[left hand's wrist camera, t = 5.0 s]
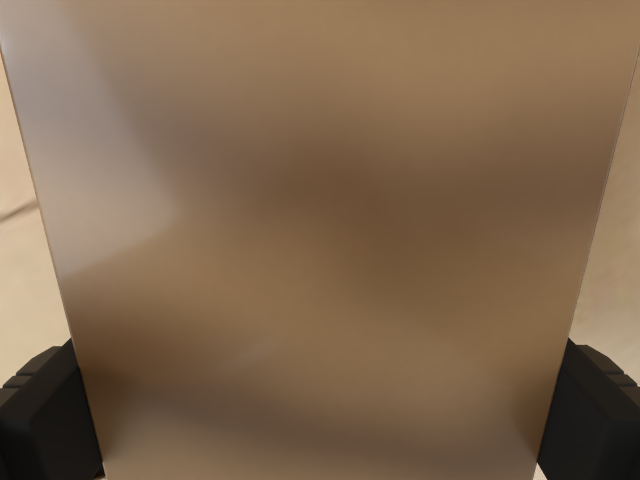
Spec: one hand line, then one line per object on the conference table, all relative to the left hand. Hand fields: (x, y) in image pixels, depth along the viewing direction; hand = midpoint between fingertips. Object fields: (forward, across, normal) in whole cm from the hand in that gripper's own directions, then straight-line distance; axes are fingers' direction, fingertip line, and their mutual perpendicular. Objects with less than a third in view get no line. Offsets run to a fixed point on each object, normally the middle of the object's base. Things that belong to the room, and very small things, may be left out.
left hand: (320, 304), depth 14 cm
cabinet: (+6, 0, -6) cm, 8 cm away
